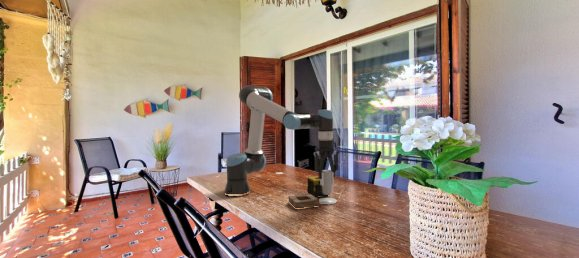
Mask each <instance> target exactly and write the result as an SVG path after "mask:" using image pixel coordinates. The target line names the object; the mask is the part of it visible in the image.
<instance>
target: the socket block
mask: <svg viewBox="0 0 579 258" xmlns="http://www.w3.org/2000/svg"><path fill="white" fill-rule="evenodd" d="M319 199H320V198H316V197H314V196H313V195H311V194H307V193H306V194H297V195H288V203H289V202H290V203H291V204H292V205H293V206H294V207H295V208H304V207H314V206H319V207H320V204H319ZM294 207H293V208H294ZM295 208H294V209H295Z"/></svg>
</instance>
